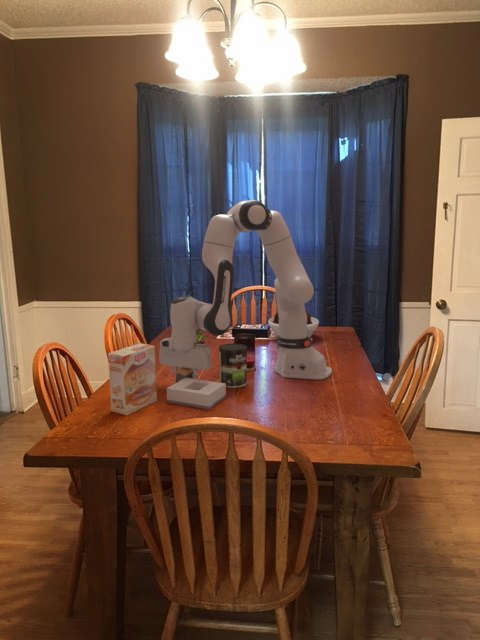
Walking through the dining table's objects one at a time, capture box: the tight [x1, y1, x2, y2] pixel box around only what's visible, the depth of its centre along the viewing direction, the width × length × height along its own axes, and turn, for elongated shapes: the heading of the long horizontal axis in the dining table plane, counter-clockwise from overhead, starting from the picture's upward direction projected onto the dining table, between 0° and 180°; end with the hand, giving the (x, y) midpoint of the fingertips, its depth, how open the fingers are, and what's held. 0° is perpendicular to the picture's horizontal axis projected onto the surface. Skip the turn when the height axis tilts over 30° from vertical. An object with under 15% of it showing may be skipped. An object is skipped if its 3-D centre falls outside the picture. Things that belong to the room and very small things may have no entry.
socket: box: [166, 378, 227, 410], centre depth 172 cm, size 16×12×5 cm
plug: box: [175, 367, 194, 383], centre depth 184 cm, size 4×6×7 cm, turn 149°
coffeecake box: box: [107, 342, 158, 416], centre depth 165 cm, size 15×7×20 cm, turn 148°
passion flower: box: [196, 329, 208, 343], centre depth 248 cm, size 11×11×12 cm
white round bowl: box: [267, 312, 320, 339], centre depth 251 cm, size 25×25×15 cm
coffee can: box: [218, 343, 248, 389], centre depth 187 cm, size 10×10×14 cm
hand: (186, 378), depth 184 cm, fingers open, 5 cm apart
